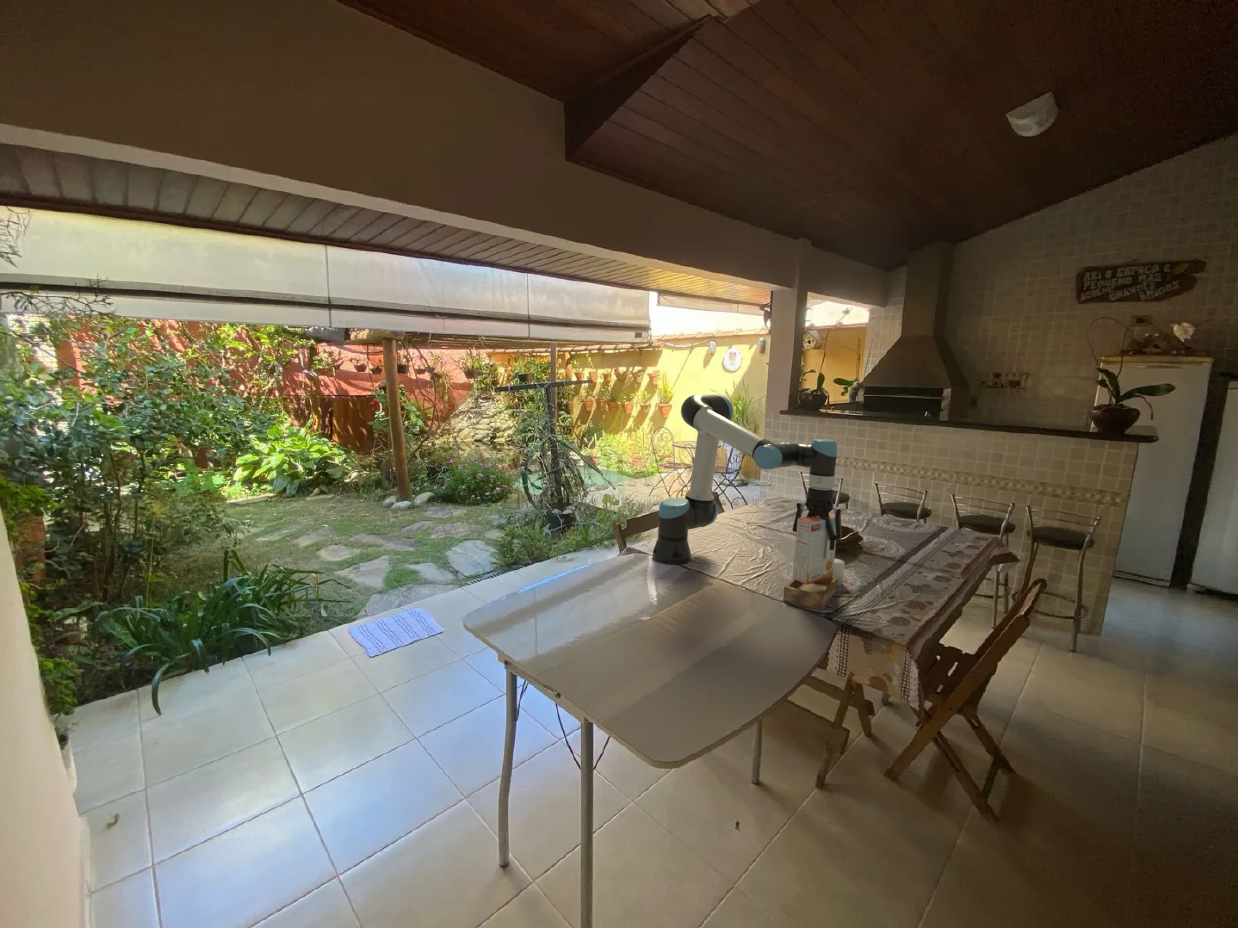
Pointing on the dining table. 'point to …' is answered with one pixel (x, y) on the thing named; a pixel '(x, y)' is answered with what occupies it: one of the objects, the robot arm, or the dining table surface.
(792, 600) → the tray
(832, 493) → the robot arm
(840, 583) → the cream rounded shape
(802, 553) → the cracker box
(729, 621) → the dining table surface
